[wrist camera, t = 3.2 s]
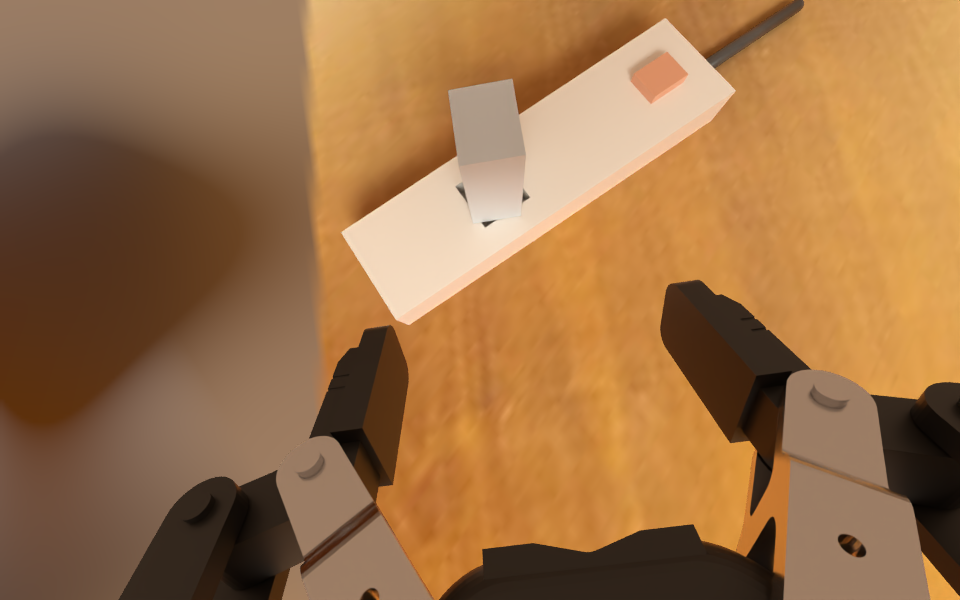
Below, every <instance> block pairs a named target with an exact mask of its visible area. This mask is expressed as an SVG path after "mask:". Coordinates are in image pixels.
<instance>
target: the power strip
mask: <svg viewBox="0 0 960 600" xmlns="http://www.w3.org/2000/svg"><path fill="white" fill-rule="evenodd" d="M803 6H804V1H803V0H794V1H792V2H791V3H789V4H788V5H786V6H785V7H783V8H782V9H780V10H779V11H777V12H776V13H774V14H773V15H771V16H770V17H769V18H767V19H766V20H764V21H763V22H761V23H760V24H758V25H757V26H755V27H754V28H752V29H751V30H749V31H748V32H746V33H745V34H743V35H742V36H740V37H739V38H737V39H736V40H734V41H733V42H731V43H730V44H728V45H727V46H725V47H724V48H722V49H721V50H719V51H718V52H716V53H715V54H713V55H712V56H710V57H709V58H707V59H705V58H704V57H703V56H702V55H701V54H700V53H699V52H698V51H697V50H696V49H695V48H694V47H693V46H692V45H691V44H690V43H689V42H688V41H687V40H686V39H685V38H684V37H683V36H682V35H681V34H680V33H679V31H678V30H677V29H676V28H675V27H674V26H673V25H672V24H671V23H670V22H669V21H668V20H667V19H666V18H665V19H663V20H662V21H660V22H659V23H657V24H656V25H654V26H653V27H651V28H650V29H648V30H646V31H645V32H643V33H642V34H640V35H639V36H637V37H636V38H634V39H633V40H631V41H630V42H628V43H627V44H625V45H624V46H622V47H621V48H619V49H618V50H616V51H615V52H613V53H612V54H610V55H609V56H607V57H606V58H604V59H603V60H601V61H600V62H598V63H597V64H595V65H594V66H592V67H590V68H589V69H587V70H586V71H584V72H583V73H581V74H580V75H578V76H577V77H575V78H574V79H572V80H571V81H569V82H568V83H566V84H565V85H563V86H562V87H560V88H559V89H557V90H556V91H554V92H553V93H551V94H550V95H548V96H547V97H545V98H544V99H542V100H541V101H539V102H537V103H536V104H534V105H533V106H531V107H530V108H528V109H527V110H525V111H524V112H522V113H521V114H519V119H520V124H521V130H522V135H523V141H524V147H525V152H526V160H525V172H524V184H523V196H522V207H521V216H517V217H511V218H505V219H498V220H492V221H486V222H480V223H474V224H473V221H472V217H471V213H470V209H469V205H468V201H467V197H466V193H465V189H464V185H463V181H462V177H461V173H460V169H459V165H458V158H457V156H456V157H454V158H453V159H451V160H450V161H448V162H447V163H445V164H444V165H442V166H441V167H439V168H438V169H436V170H435V171H433V172H432V173H430V174H429V175H427V176H425V177H424V178H422V179H421V180H419V181H418V182H416V183H415V184H413V185H412V186H410V187H409V188H407V189H406V190H404V191H403V192H401V193H400V194H398V195H397V196H395V197H394V198H392V199H391V200H389V201H388V202H386V203H385V204H383V205H382V206H380V207H379V208H377V209H376V210H374V211H372V212H371V213H369V214H368V215H366V216H365V217H363V218H362V219H360V220H359V221H357V222H356V223H354V224H353V225H351V226H350V227H348V228H347V229H345V230H344V231H342V232H341V233H342V235H343V236H344V238H345V240H346V241H347V243H348V244H349V246H350V247H351V249H352V251H353V252H354V254H355V255H356V257H357V259H358V260H359V262H360V263H361V265H362V267H363V268H364V270H365V271H366V273H367V275H368V276H369V278H370V279H371V281H372V282H373V284H374V286H375V287H376V289H377V290H378V292H379V294H380V295H381V297H382V298H383V300H384V302H385V303H386V305H387V306H388V308H389V309H390V311H391V313H392V314H393V316H394V317H395V319H396V320H398V321H400V322H403V323H405V324H407V325H410V324H411V323H413V322H414V321H416V320H417V319H419V318H420V317H422V316H423V315H425V314H426V313H428V312H429V311H431V310H432V309H434V308H435V307H437V306H438V305H439V304H441V303H442V302H444V301H445V300H447V299H448V298H450V297H451V296H453V295H454V294H456V293H457V292H459V291H460V290H462V289H463V288H465V287H466V286H468V285H469V284H471V283H472V282H474V281H475V280H476V279H478V278H479V277H481V276H482V275H484V274H485V273H487V272H488V271H490V270H491V269H493V268H494V267H496V266H497V265H499V264H500V263H502V262H503V261H505V260H506V259H508V258H509V257H511V256H512V255H513V254H515V253H516V252H518V251H519V250H521V249H522V248H524V247H525V246H527V245H528V244H530V243H531V242H533V241H534V240H536V239H537V238H539V237H540V236H542V235H543V234H545V233H546V232H547V231H549V230H550V229H552V228H553V227H555V226H556V225H558V224H559V223H561V222H562V221H564V220H565V219H567V218H568V217H570V216H571V215H573V214H574V213H576V212H577V211H579V210H580V209H582V208H583V207H584V206H586V205H587V204H589V203H590V202H592V201H593V200H595V199H596V198H598V197H599V196H601V195H602V194H604V193H605V192H607V191H608V190H610V189H611V188H613V187H614V186H616V185H617V184H619V183H620V182H621V181H623V180H624V179H626V178H627V177H629V176H630V175H632V174H633V173H635V172H636V171H638V170H639V169H641V168H642V167H644V166H645V165H647V164H648V163H650V162H651V161H653V160H654V159H655V158H657V157H658V156H660V155H661V154H663V153H664V152H666V151H667V150H669V149H670V148H672V147H673V146H675V145H676V144H678V143H679V142H681V141H682V140H684V139H685V138H687V137H688V136H690V135H691V134H692V133H694V132H695V131H697V130H698V129H700V128H701V127H703V126H704V125H706V124H707V123H709V122H710V121H711V120H712V119H713V118H714V117H715V115H716V114H717V113H718V112H719V110H720V109H721V108H722V107H723V106H724V104H725V103H726V102H727V101H728V100H729V98H730V97H731V96H732V95H733V94H734V92H735V91H736V90H735V89H734V88H733V87H732V86H731V85H730V84H729V83H728V82H727V81H726V80H725V79H724V78H723V77H722V76H721V75H720V74H719V73H718V72H717V71H716V70H715V69H714V68H716V67H717V66H718V65H720V64H721V63H723V62H724V61H726V60H727V59H729V58H730V57H732V56H733V55H735V54H736V53H738V52H739V51H741V50H742V49H744V48H745V47H747V46H748V45H750V44H751V43H753V42H754V41H756V40H757V39H759V38H760V37H762V36H763V35H765V34H766V33H768V32H769V31H771V30H772V29H774V28H775V27H777V26H778V25H780V24H781V23H783V22H784V21H786V20H787V19H789V18H790V17H792V16H793V15H795V14H796V13H798V12H799V11H800V10H801V9H802V8H803Z"/></svg>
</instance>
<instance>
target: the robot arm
mask: <svg viewBox="0 0 960 600" xmlns="http://www.w3.org/2000/svg"><path fill="white" fill-rule="evenodd" d="M660 330H661V337H662V341H663V343H664V345H665V347H666V349H667V350H668V352H669V353H670V355H671V356H672V358H673V359H674V361H675V362H676V363H677V365H678V366H679V368H680V369H681V371H682V372H683V374H684V375H685V377H686V378H687V380H688V381H689V383H690V384H691V386H692V387H693V389H694V390H695V392H696V393H697V395H698V396H699V397H700V399H701V400H702V402H703V403H704V405H705V406H706V408H707V409H708V411H709V412H710V414H711V415H712V417H713V418H714V420H715V421H716V423H717V424H718V426H719V427H720V429H721V430H722V431H723V433H724V434H725V436H726V437H727V439H728V440H729V442H730V443H735V442H743V441H750V442H751V443H752V445H753V446H754V447H755V451H754V454H753V457H752V464H751V472H750V480H749V487H748V495H747V503H746V510H745V518H744V524H743V529H742V532H741V536H740V539H739V542H738V546H737V549H736V552H735V551H732V550H730V549H727V548H725V547H722V546H719V545H716V544H712V543H709V542H704V541H701V540H700V537H699V535H698V533H697V531H696V529H695V527H694V525H693V524H692V525H683V526H675V527H666V528H658V529H649V530H641V531H638V532H636V533H634V534H632V535H629V536H627V537H625V538H623V539H621V540H618V541H616V542H614V543H612V544H609V545H607V546H605V547H603V548H601V549H598V550H596V551H593V552H581V551H575V550H569V549H564V548H558V547H552V546H546V545H540V544H535V543H531V544H523V545H514V546H506V547H497V548H489V549H482V551H483V565H482V566H480V567H477V568H475V569H473V570H472V571H470V572H469V573H467V574H465V575H464V576H463V577H461V578H460V579H459V580H458V581H457V582H455V583H454V584H453V585H452V586H451V587H450V588H449V589H448V590H447V591H446V592H445V593H444V594H443V595H442V597H441V598H440V599H439V600H930V595H929V590H928V585H927V579H926V574H925V568H924V563H923V557H922V552H923V554H924V555H925V556H926V557H927V558H928V559H929V561H930V562H931V563H932V564H933V565H934V567H935V568H936V569H937V570H938V571H939V572H940V574H941V575H942V576H943V577H944V578H945V580H946V581H947V582H948V583H949V584H950V585H951V587H952V588H953V589H954V590H955V591H956V593H957V594H958V595H959V596H960V383H951V382H944V383H936V384H933V385H930V386H929V387H928V388H927V389H926V390H925V391H924V393H923V394H922V395H921V396H920V398H919V399H918V400H916V399H907V398H897V397H888V396H878V395H870V394H869V393H868V392H867V391H866V390H864V389H863V388H862V387H860V386H859V385H858V384H856V383H854V382H853V381H851V380H849V379H847V378H845V377H842V376H840V375H837V374H834V373H830V372H826V371H821V370H811V369H810V368H809V367H808V366H807V365H806V364H805V363H804V362H803V361H802V360H800V359H799V358H798V357H797V356H796V355H795V354H794V353H793V352H792V351H791V350H790V349H789V348H788V347H786V346H785V345H784V344H783V343H782V342H781V341H780V340H779V339H778V338H777V337H776V336H775V335H774V334H772V333H771V332H770V331H769V330H766V327H765V326H764V325H763V324H762V323H761V322H760V321H758V320H757V319H755V318H754V316H753V315H752V314H751V313H750V312H749V311H748V310H747V309H746V308H744V307H743V306H742V305H741V304H740V303H738V302H736V301H734V300H732V299H730V298H728V297H726V296H724V295H722V294H721V295H715V294H714V293H713V292H712V291H711V290H710V289H709V288H708V287H707V286H706V285H705V284H704V283H703V282H702V281H700V280H693V281H687V282H680V283H673V284H670V285H668V287H667V289H666V295H665V301H664V307H663V313H662V320H661V327H660ZM407 388H408V367H407V363H406V360H405V357H404V355H403V352H402V349H401V347H400V344H399V341H398V338H397V336H396V333H395V330H394V328H393V327H392V326H391V325H389V326H382V327H375V328H369V329H365V330H364V332H363V335H362V338H361V341H360V344H359V347H357V348H350V349H349V350H348V351H347V352H346V354H345V355H344V356H343V357H342V358H341V359H340V361H339V362H338V364H337V367H336V369H335V372H334V374H333V379H332V380H331V382H330V385H329V388H328V392H327V393H326V395H325V398H324V401H323V403H322V406H321V409H320V411H319V414H318V416H317V419H316V422H315V424H314V427H313V430H312V432H311V435H310V437H309V439H308V440H306V441H304V442H303V443H300V444H299V445H298V446H296V447H295V448H294V449H293V450H291V451H290V452H289V453H288V455H287V456H286V457H285V458H284V460H283V461H282V463H281V464H280V466H279V469H278V470H276V471H274V472H273V473H270V474H268V475H265V476H263V477H261V478H258V479H256V480H254V481H251V482H249V483H246V484H244V485H242V486H238V485H237V484H236V483H235V482H234V481H233V480H231V479H230V478H227V477H215V478H211V479H208V480H206V481H204V482H202V483H200V484H198V485H196V486H195V487H193V488H192V489H191V490H189V491H188V492H187V493H185V495H183V496H182V497H181V498H180V499H179V500H178V501H177V502H176V503H175V504H174V506H173V507H172V508H171V509H170V511H169V513H168V514H167V516H166V517H165V519H164V521H163V523H162V525H161V526H160V528H159V530H158V532H157V533H156V535H155V537H154V538H153V540H152V542H151V544H150V545H149V547H148V549H147V551H146V553H145V554H144V556H143V558H142V560H141V561H140V563H139V565H138V567H137V569H136V570H135V572H134V574H133V575H132V577H131V579H130V581H129V582H128V584H127V586H126V588H125V589H124V591H123V593H122V595H121V596H120V598H119V600H282V596H283V592H284V589H285V585H286V581H287V578H288V574H289V570H290V568H291V567H293V566H295V565H297V564H299V563H301V562H303V561H304V563H303V564H302V565H301V567H300V572H301V577H302V581H303V584H304V587H305V590H306V592H307V595H308V598H309V600H434V598H433V597H432V595H431V593H430V592H429V590H428V588H427V587H426V585H425V583H424V582H423V580H422V579H421V577H420V575H419V574H418V572H417V570H416V569H415V567H414V565H413V564H412V562H411V560H410V559H409V557H408V555H407V554H406V552H405V551H404V549H403V547H402V546H401V544H400V542H399V541H398V539H397V537H396V536H395V534H394V532H393V531H392V529H391V527H390V526H389V524H388V522H387V521H386V519H385V517H384V516H383V514H382V512H381V511H380V509H379V507H378V506H377V504H376V498H377V492H378V487H380V486H388V485H393V480H394V474H395V467H396V461H397V454H398V447H399V441H400V434H401V428H402V421H403V414H404V408H405V401H406V395H407ZM921 551H922V552H921Z"/></svg>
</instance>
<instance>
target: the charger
mask: <svg viewBox="0 0 960 600" xmlns="http://www.w3.org/2000/svg"><path fill="white" fill-rule="evenodd" d="M448 94H449V101H450V108H451V115H452V122H453V129H454V137H455V144H456V151H457V158H458V165H459V169H460V173H461V177H462V181H463V185H464V189H465V193H466V197H467V201H468V205H469V209H470V213H471V217H472V221H473V224H474V223H480V222H486V221H492V220H498V219H505V218H511V217H517V216H521V207H522V196H523V184H524V172H525V160H526V152H525V147H524V141H523V135H522V130H521V124H520V119H519V113H518V107H517V102H516V96H515V91H514V85H513V79H507V80H502V81H496V82H491V83H485V84H480V85H474V86H469V87H463V88H457V89H452V90H448Z"/></svg>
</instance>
